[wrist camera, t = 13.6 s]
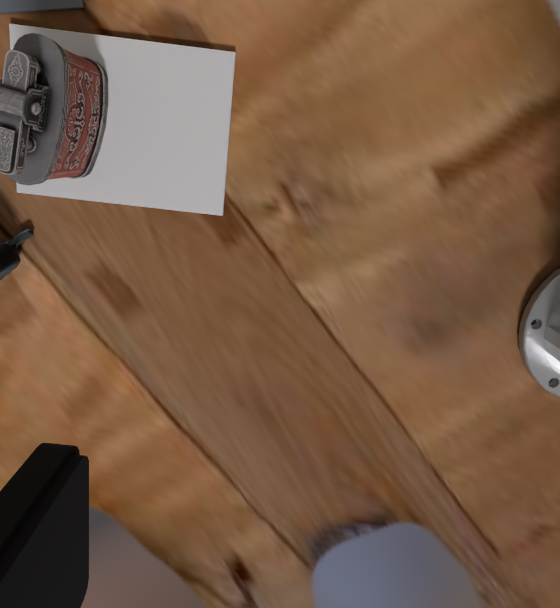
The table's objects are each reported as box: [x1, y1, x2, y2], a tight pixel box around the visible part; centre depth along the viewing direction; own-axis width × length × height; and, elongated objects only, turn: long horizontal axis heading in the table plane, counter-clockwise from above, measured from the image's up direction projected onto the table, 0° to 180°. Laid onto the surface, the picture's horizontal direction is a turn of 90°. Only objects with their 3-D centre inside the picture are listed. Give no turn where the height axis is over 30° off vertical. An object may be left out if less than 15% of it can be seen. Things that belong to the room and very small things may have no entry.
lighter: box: [0, 33, 108, 185], centre depth 29 cm, size 8×3×10 cm, turn 163°
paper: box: [9, 24, 236, 216], centre depth 34 cm, size 15×11×1 cm
